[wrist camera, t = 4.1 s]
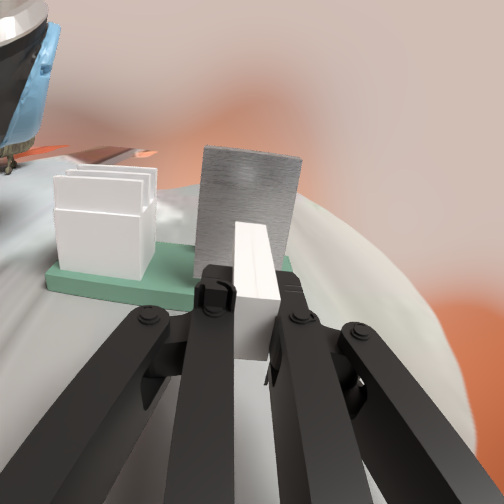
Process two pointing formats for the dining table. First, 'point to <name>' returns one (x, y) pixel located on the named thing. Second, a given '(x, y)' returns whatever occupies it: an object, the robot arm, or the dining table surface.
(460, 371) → the dining table surface
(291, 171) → the plate
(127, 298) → the heat-sink mount
